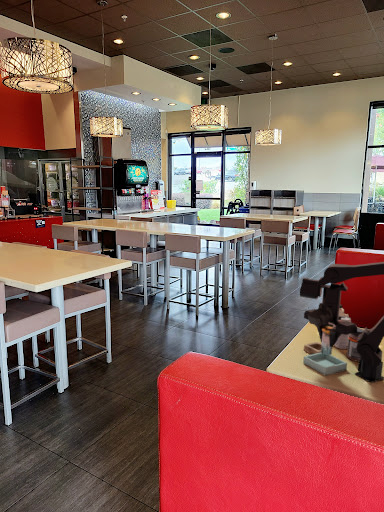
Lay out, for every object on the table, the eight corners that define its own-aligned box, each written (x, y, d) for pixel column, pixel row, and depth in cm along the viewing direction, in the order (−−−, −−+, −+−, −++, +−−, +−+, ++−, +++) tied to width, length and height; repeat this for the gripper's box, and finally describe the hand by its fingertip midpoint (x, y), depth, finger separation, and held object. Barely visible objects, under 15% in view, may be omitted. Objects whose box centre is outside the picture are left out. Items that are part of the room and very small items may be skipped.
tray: (346, 369, 131) (347, 363, 131) (325, 375, 127) (326, 368, 126) (323, 358, 140) (324, 351, 140) (303, 363, 135) (303, 356, 135)
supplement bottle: (349, 353, 145) (352, 325, 143) (365, 358, 141) (369, 329, 140) (344, 358, 141) (347, 329, 139) (361, 363, 137) (364, 333, 135)
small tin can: (335, 354, 132) (337, 329, 130) (326, 356, 130) (328, 331, 128) (325, 349, 135) (327, 325, 134) (317, 351, 133) (319, 327, 132)
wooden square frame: (330, 354, 144) (331, 348, 144) (317, 357, 141) (318, 351, 140) (316, 347, 150) (317, 341, 150) (303, 350, 147) (304, 344, 146)
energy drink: (345, 344, 154) (348, 316, 152) (349, 349, 149) (353, 320, 147) (332, 343, 154) (335, 315, 152) (335, 348, 149) (338, 319, 147)
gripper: (294, 296, 134) (290, 338, 136) (336, 312, 118) (332, 359, 120) (316, 293, 139) (313, 334, 142) (360, 308, 123) (355, 353, 125)
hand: (327, 344), depth 132 cm, fingers closed on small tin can, 4 cm apart
